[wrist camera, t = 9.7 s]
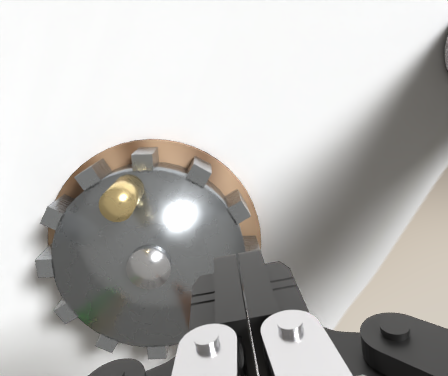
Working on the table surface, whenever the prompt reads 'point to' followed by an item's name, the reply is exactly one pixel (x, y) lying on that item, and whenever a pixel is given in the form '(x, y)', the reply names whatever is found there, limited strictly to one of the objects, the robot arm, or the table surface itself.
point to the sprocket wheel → (140, 247)
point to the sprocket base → (173, 155)
